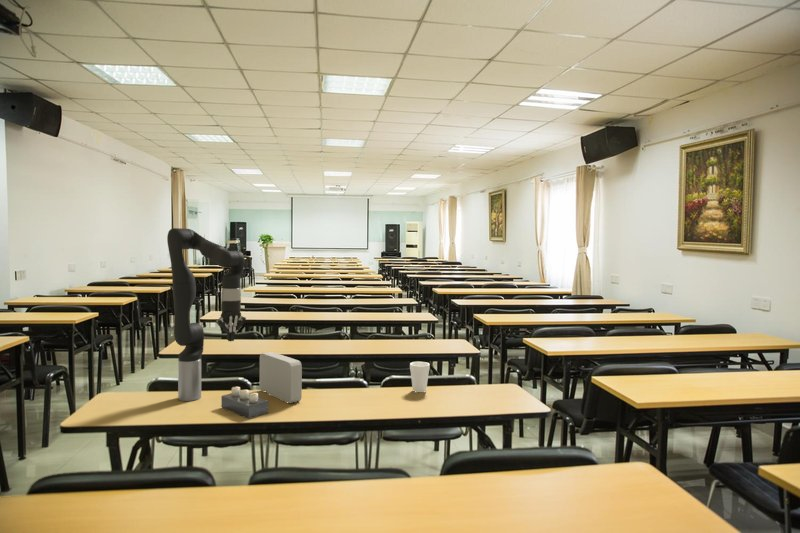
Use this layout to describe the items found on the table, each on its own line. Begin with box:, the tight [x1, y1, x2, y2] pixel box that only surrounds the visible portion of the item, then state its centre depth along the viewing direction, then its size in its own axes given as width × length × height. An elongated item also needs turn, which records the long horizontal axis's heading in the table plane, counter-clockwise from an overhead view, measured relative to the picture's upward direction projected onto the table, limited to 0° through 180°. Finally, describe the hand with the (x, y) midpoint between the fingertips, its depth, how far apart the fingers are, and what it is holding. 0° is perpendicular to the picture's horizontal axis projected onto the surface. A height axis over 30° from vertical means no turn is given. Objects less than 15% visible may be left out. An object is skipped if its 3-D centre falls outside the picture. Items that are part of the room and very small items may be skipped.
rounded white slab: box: [259, 351, 303, 404], centre depth 210 cm, size 29×8×18 cm, turn 44°
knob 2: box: [240, 389, 250, 399], centre depth 190 cm, size 3×3×8 cm
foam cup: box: [409, 361, 431, 393], centre depth 220 cm, size 10×9×13 cm
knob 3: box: [249, 392, 259, 403], centre depth 186 cm, size 3×3×8 cm
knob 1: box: [231, 386, 241, 396], centre depth 194 cm, size 3×3×8 cm
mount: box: [220, 392, 269, 420], centre depth 190 cm, size 20×9×5 cm, turn 51°
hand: (230, 340), depth 191 cm, fingers closed
